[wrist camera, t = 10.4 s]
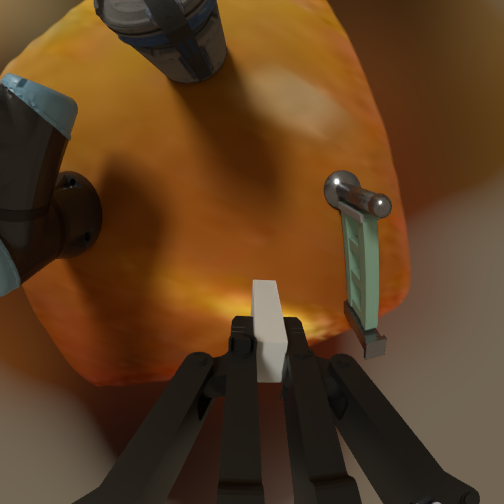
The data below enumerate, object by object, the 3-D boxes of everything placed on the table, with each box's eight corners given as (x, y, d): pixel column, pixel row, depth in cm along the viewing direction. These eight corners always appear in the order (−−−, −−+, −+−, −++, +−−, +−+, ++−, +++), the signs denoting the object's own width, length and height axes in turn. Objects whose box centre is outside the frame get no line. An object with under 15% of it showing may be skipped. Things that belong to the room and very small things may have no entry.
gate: (337, 202, 40) (360, 215, 31) (353, 199, 40) (378, 212, 31) (345, 301, 46) (363, 330, 37) (359, 298, 45) (379, 326, 37)
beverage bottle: (184, 110, 36) (101, 60, 12) (150, 47, 32) (67, -27, 8) (246, 79, 34) (243, -13, 11) (208, 18, 30) (174, -85, 7)
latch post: (342, 314, 48) (365, 359, 36) (341, 299, 47) (366, 344, 35) (358, 310, 48) (384, 354, 35) (358, 296, 46) (386, 338, 34)
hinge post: (326, 211, 41) (362, 240, 27) (321, 173, 39) (357, 183, 25) (361, 205, 41) (408, 231, 27) (357, 168, 39) (406, 178, 25)
